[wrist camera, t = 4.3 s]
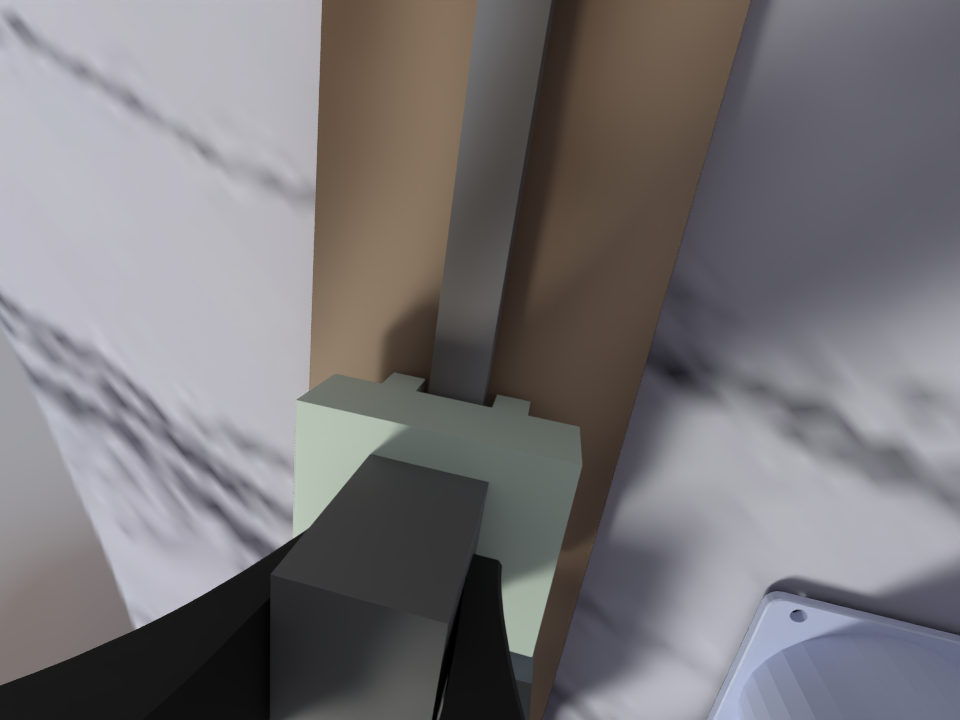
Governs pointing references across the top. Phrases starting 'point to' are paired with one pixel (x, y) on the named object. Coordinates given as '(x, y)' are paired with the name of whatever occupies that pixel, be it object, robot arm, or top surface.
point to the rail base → (512, 214)
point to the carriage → (408, 541)
